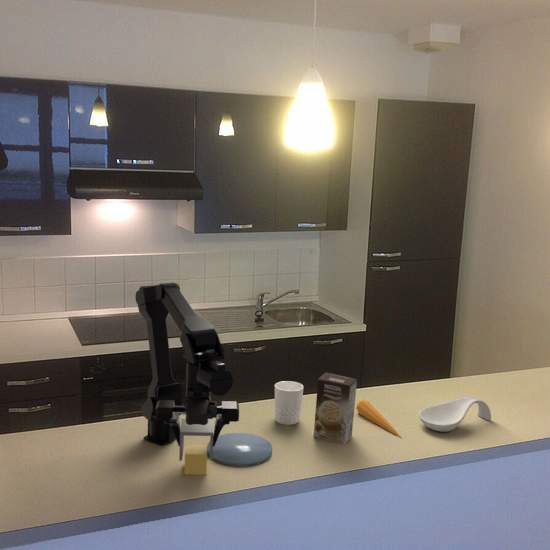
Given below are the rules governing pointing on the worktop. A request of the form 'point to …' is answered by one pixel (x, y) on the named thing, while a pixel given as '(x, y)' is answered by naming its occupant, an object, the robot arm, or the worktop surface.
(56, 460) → the worktop surface
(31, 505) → the worktop surface
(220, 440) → the dish
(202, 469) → the block
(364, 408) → the carrot
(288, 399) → the white cup
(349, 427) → the coffee box
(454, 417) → the spoon rest
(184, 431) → the cover
